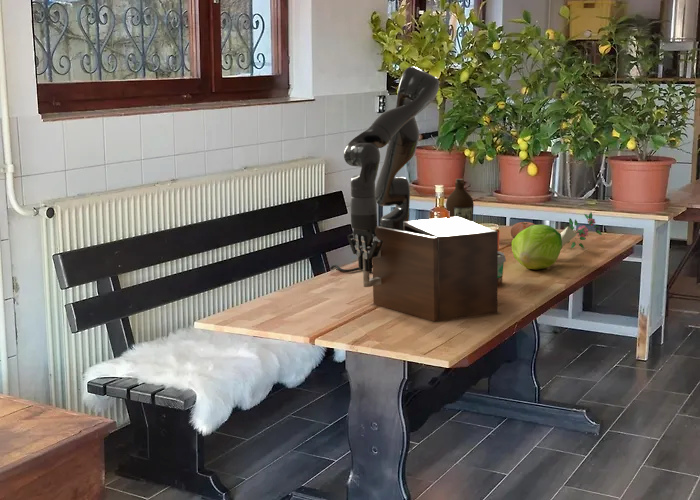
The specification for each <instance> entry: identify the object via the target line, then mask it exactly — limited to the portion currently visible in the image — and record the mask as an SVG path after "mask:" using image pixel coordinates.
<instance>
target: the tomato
mask: <svg viewBox="0 0 700 500" xmlns="http://www.w3.org/2000/svg"><path fill="white" fill-rule="evenodd" d="M532 225H536V224H535V223H533V222H529V221H521V222H516V223H515V224H513V225H512V226H511V228H510V235H511V237H512V240H513V239H514V238H515V237H516V235H517V234H518V233H519V232H521V231H523V230H524V229H526V228H528V227H530V226H532Z"/></svg>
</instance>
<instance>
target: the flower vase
mask: <svg viewBox="0 0 700 500" xmlns="http://www.w3.org/2000/svg"><path fill="white" fill-rule="evenodd" d="M583 215H584V218H586V220H587V225H580V226H578V225H579V223H578V221H577V219H574V221H573V219H572V218H571V217H569V219H568V223H569V225H570V226H564V229H563V230H562V231H561V232H559V233H560V234H561V238H562V248H563V247H565V246H566V245H567V244H569V243H570V242H571V240H572V239H575V240H578V239H579V240H580V241H586V239H587V238H586V236H589V229H590V227H589V226H591V227H592V226H594V227H593V228H592V230H594V229H597V228H600V226H599V225H596V219H595V218H594V217H593V213H592V211H590V213H589V214H586V213H584V214H583ZM573 224H574V226H573ZM577 226H578V227H577ZM575 227H577V229H576V231H575ZM588 228H589V229H588ZM595 232H596V234H598V235H599V236H602V235H603V234H602V232H601V231H600V230H599V229H597V230H595ZM576 236H577V237H579V238H577V237H576ZM577 243H578V246H579V247H580V248H582V249H585V246H584V244H583V243H582V242H580V243H579V242H577ZM577 243H576V242H575V241H572V243H571V246H570V249H571V250H572V249H573V248H575V246H576V245H577Z"/></svg>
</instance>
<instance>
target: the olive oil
mask: <svg viewBox="0 0 700 500" xmlns="http://www.w3.org/2000/svg"><path fill="white" fill-rule="evenodd" d="M464 181H465V179H464V178H455V182H454V186H455V188H454V190H453V191H452V192H451V193H450V194H449V196H447V199H446V202H445V209H446V208H447V209H448V210H449V211H450V217H460V218H463V219H465V220H468V221H471V222H474V205H475V204H474V200H473V197H472V196H471V195H470V194H469V192H467V190H466V189H465V182H464Z"/></svg>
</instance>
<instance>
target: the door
mask: <svg viewBox="0 0 700 500" xmlns="http://www.w3.org/2000/svg"><path fill="white" fill-rule="evenodd" d="M375 233H376V237H377V238H378V239H379V240H382V241H383V243H382V245H381V248H380V251H379V253H378V256H377V257H373V258H372V265H373V268H372V277H371V278H370V273H369V271H365V262H364V259H365V255H364V253H363V270H362V279H363V280H362V284H363V287H364V288H370V287H372V298H373V299H372V301H373V305H376V306H380V307H382V308H386V309H389V310H394V311H397V312H400V313H403V314H407V315H411V316H414V317H418V318H420V319H424V320H428V321H431V322H437V321H439V320H438V259H437V237H432V236H427V235H422V234H417V233H411V232H406V231H401V230H396V229H391V228H385V227H381V225H377V227H376V228H375ZM368 254H369V251H368Z"/></svg>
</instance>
